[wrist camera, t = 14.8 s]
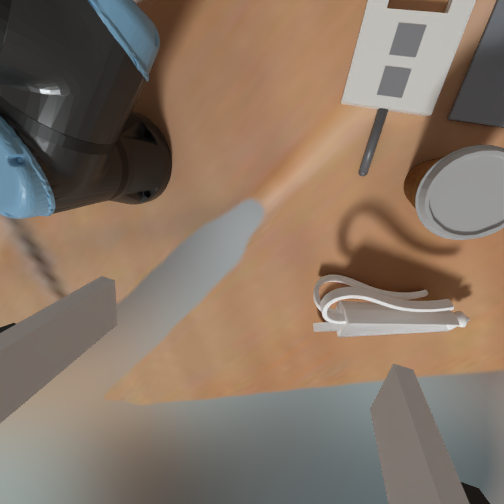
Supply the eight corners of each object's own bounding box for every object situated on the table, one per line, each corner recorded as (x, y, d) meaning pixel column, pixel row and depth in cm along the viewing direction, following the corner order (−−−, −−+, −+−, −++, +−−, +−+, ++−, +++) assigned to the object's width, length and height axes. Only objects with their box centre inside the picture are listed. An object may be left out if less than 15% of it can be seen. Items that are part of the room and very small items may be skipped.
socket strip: (400, 183, 37) (404, 184, 35) (323, 168, 39) (323, 169, 37) (501, -80, 26) (513, -94, 25) (389, -83, 28) (393, -97, 27)
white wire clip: (479, 243, 35) (317, 250, 37) (516, 307, 31) (327, 312, 32) (422, 292, 50) (307, 296, 51) (441, 341, 45) (312, 344, 46)
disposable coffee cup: (434, 131, 34) (488, 121, 23) (487, 179, 34) (563, 191, 23) (376, 188, 38) (398, 202, 27) (423, 230, 38) (464, 261, 27)
